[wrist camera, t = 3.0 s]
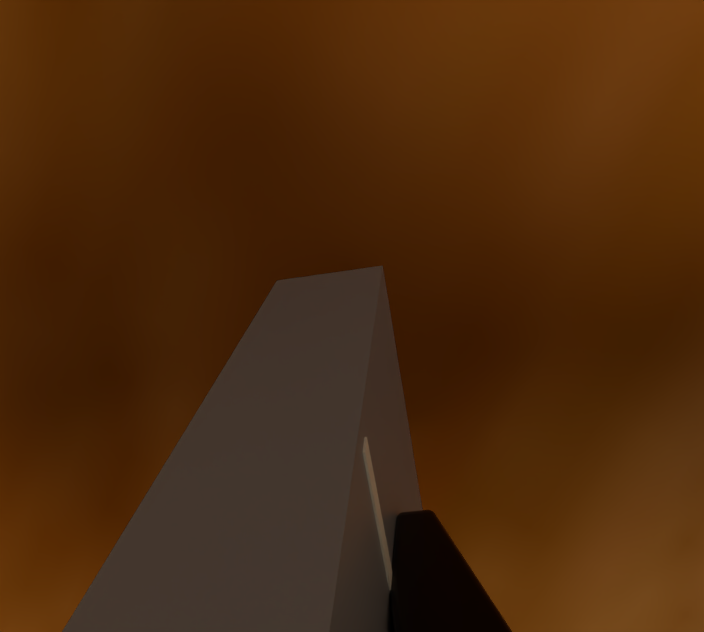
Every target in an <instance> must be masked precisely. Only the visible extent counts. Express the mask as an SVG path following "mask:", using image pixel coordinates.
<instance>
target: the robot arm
mask: <svg viewBox="0 0 704 632" xmlns="http://www.w3.org/2000/svg"><path fill="white" fill-rule="evenodd" d="M392 572H393V573H392V585H391V590H390V601H391V610H392V618H393V626H394V632H512V631H511V629H510V628H509V626H508V625H507V623H506V621H505V620H504V618H503V617H502V615H501V614H500V612H499V611H498V609H497V608H496V606H495V605H494V603H493V602H492V600H491V599H490V597H489V596H488V594H487V592H486V591H485V589H484V588H483V586H482V585H481V583H480V582H479V580H478V579H477V577H476V576H475V574H474V573H473V571H472V570H471V568H470V566H469V565H468V563H467V562H466V560H465V559H464V557H463V556H462V554H461V553H460V551H459V550H458V548H457V547H456V545H455V544H454V542H453V541H452V539H451V537H450V536H449V534H448V533H447V531H446V530H445V528H444V527H443V525H442V524H441V522H440V521H439V519H438V518H437V516H436V515H435V513H434V512H433V511H431V510H420V511H408V512H401V513H400V514H398V516H397V519H396V528H395V538H394V548H393V558H392Z"/></svg>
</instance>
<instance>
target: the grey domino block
mask: <svg viewBox="0 0 704 632" xmlns="http://www.w3.org/2000/svg"><path fill="white" fill-rule="evenodd" d="M420 510H422V504H421V498H420V491H419V485H418V479H417V473H416V467H415V461H414V455H413V448H412V442H411V436H410V430H409V424H408V418H407V412H406V405H405V399H404V393H403V387H402V381H401V375H400V369H399V362H398V356H397V350H396V344H395V338H394V332H393V326H392V319H391V313H390V307H389V301H388V295H387V289H386V283H385V276H384V270H383V266H376V267H369V268H362V269H355V270H348V271H341V272H334V273H326V274H319V275H312V276H305V277H298V278H291V279H284V280H277V281H276V283H275V284H274V286H273V288H272V289H271V291H270V293H269V294H268V296H267V297H266V299H265V301H264V302H263V304H262V306H261V307H260V309H259V311H258V312H257V314H256V315H255V317H254V319H253V320H252V322H251V324H250V325H249V327H248V329H247V330H246V332H245V333H244V335H243V337H242V338H241V340H240V342H239V343H238V345H237V347H236V348H235V350H234V351H233V353H232V355H231V356H230V358H229V360H228V361H227V363H226V365H225V366H224V368H223V369H222V371H221V373H220V374H219V376H218V378H217V379H216V381H215V383H214V384H213V386H212V387H211V389H210V391H209V392H208V394H207V396H206V397H205V399H204V401H203V402H202V404H201V405H200V407H199V409H198V410H197V412H196V414H195V415H194V417H193V419H192V420H191V422H190V423H189V425H188V427H187V428H186V430H185V432H184V433H183V435H182V437H181V438H180V440H179V441H178V443H177V445H176V446H175V448H174V450H173V451H172V453H171V455H170V456H169V458H168V459H167V461H166V463H165V464H164V466H163V468H162V469H161V471H160V473H159V474H158V476H157V477H156V479H155V481H154V482H153V484H152V486H151V487H150V489H149V491H148V492H147V494H146V495H145V497H144V499H143V500H142V502H141V504H140V505H139V507H138V509H137V510H136V512H135V513H134V515H133V517H132V518H131V520H130V522H129V523H128V525H127V527H126V528H125V530H124V531H123V533H122V535H121V536H120V538H119V540H118V541H117V543H116V545H115V546H114V548H113V549H112V551H111V553H110V554H109V556H108V558H107V559H106V561H105V563H104V564H103V566H102V567H101V569H100V571H99V572H98V574H97V576H96V577H95V579H94V581H93V582H92V584H91V585H90V587H89V589H88V590H87V592H86V594H85V595H84V597H83V599H82V600H81V602H80V603H79V605H78V607H77V608H76V610H75V612H74V613H73V615H72V617H71V618H70V620H69V621H68V623H67V625H66V626H65V628H64V630H63V631H62V632H394V626H393V618H392V610H391V601H390V590H391V585H392V573H393V572H392V558H393V548H394V538H395V528H396V519H397V516H398V514H400V513H401V512H408V511H420Z"/></svg>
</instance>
